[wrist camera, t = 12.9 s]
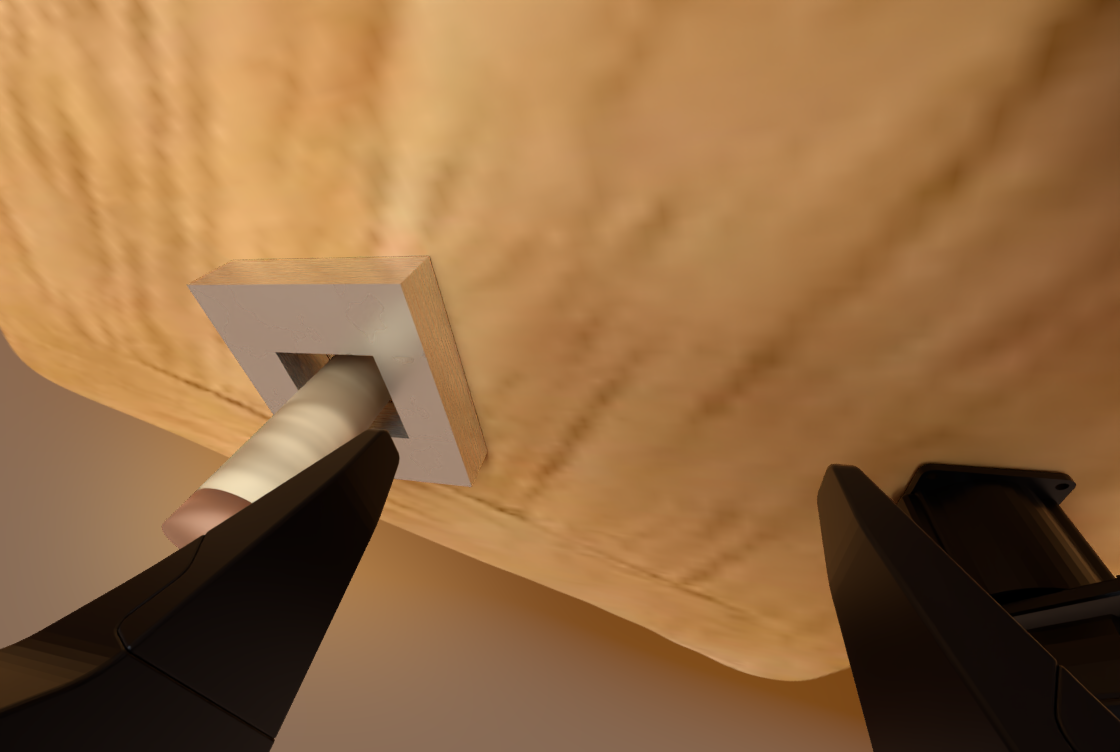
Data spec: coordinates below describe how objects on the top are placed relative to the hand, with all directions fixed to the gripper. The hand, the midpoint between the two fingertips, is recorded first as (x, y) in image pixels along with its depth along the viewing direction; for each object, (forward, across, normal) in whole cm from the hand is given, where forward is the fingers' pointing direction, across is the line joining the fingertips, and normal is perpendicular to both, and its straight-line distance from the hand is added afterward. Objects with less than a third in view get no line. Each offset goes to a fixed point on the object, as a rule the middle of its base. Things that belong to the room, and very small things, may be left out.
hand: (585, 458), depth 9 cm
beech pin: (+13, +16, +8) cm, 22 cm away
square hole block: (+13, +16, +8) cm, 22 cm away
